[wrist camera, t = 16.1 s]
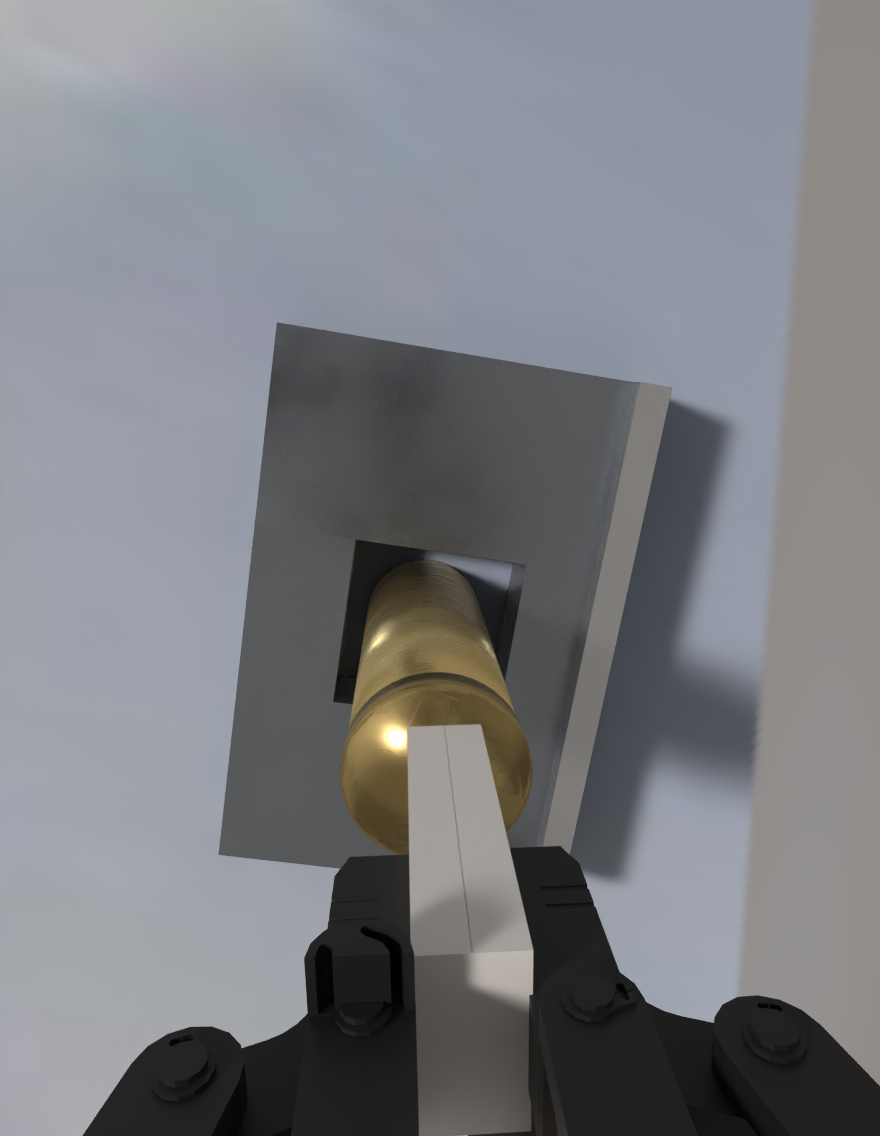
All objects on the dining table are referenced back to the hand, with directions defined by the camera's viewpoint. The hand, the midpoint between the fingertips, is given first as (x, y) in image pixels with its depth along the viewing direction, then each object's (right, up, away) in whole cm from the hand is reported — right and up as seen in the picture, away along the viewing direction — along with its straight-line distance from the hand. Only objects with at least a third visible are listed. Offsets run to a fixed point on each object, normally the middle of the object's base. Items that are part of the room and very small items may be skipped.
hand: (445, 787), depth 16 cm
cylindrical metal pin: (-1, +3, +12) cm, 13 cm away
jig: (-1, +3, +12) cm, 13 cm away
